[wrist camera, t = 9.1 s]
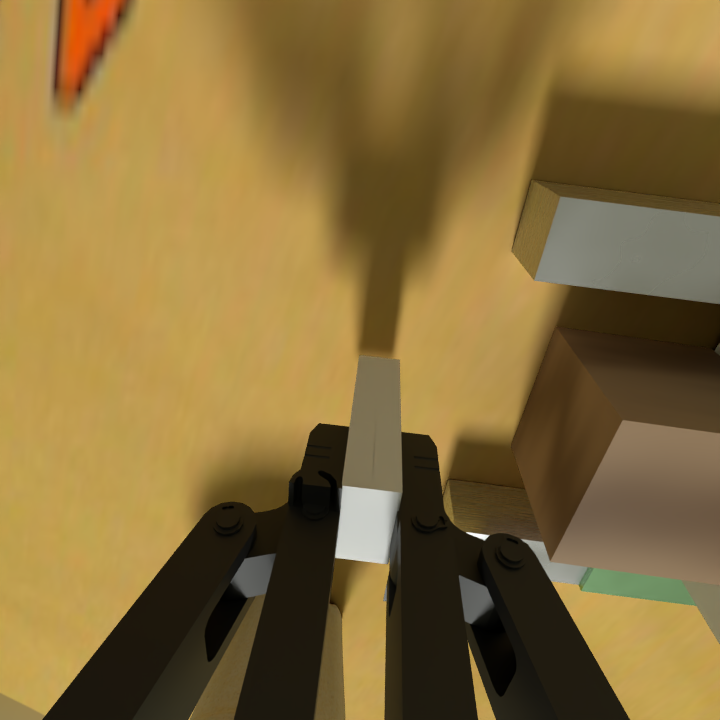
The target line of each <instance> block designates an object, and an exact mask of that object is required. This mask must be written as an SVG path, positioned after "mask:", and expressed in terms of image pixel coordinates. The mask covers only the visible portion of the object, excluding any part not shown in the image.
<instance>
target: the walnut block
mask: <svg viewBox="0 0 720 720" xmlns="http://www.w3.org/2000/svg"><path fill="white" fill-rule="evenodd" d="M511 448H512V451H513V454H514V457H515V460H516V463H517V466H518V469H519V471H520V474H521V477H522V480H523V483H524V486H525V489H526V492H527V495H528V498H529V501H530V504H531V507H532V510H533V513H534V516H535V519H536V522H537V525H538V528H539V531H540V534H541V537H542V540H543V542H544V545H545V548H546V551H547V554H548V557H549V560H550V562H554V563H562V564H569V565H576V566H583V567H591V568H598V569H605V570H612V571H620V572H627V573H634V574H641V575H649V576H656V577H663V578H670V579H678V580H685V581H692V582H699V583H707V584H714V585H720V355H719V354H717V353H716V352H715V351H713V350H712V349H711V348H706V347H699V346H692V345H685V344H677V343H670V342H663V341H656V340H649V339H642V338H634V337H627V336H620V335H613V334H606V333H599V332H591V331H584V330H577V329H570V328H563V327H555V330H554V333H553V335H552V338H551V341H550V343H549V346H548V349H547V351H546V354H545V357H544V359H543V362H542V365H541V367H540V370H539V373H538V375H537V378H536V381H535V383H534V386H533V389H532V391H531V394H530V397H529V399H528V402H527V405H526V407H525V410H524V413H523V416H522V418H521V421H520V424H519V426H518V429H517V432H516V434H515V437H514V440H513V442H512V445H511Z"/></svg>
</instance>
